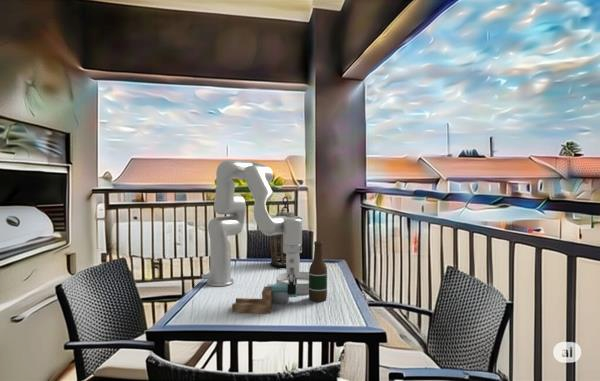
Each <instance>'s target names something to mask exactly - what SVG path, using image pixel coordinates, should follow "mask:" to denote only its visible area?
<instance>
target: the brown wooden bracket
mask: <svg viewBox="0 0 600 381" xmlns="http://www.w3.org/2000/svg"><path fill="white" fill-rule="evenodd" d="M231 306H232V308H231V310H232V311H231V313H232V312H241V313H240V314H271V311H272V308H273V304H272V287H267V285H266V286H264V287H263V289H262V291H261V298H249V297H248V298H247V297H245V298H243V297H242V298H241V297H240V298H239V297H238V298H235V302H233V303H232V304H231Z"/></svg>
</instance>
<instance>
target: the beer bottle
mask: <svg viewBox="0 0 600 381" xmlns="http://www.w3.org/2000/svg"><path fill="white" fill-rule="evenodd" d="M323 244H324V242H323V241H321V240H315V241H314V243H313V245H314V250H313V251H314V252H313V261H312V262H311V264H310V266H309V270H308V272H309V294H308V300H310V301H311V302H315V303H316V302H318V303H319V302H320V303H321V302H326V301H327V298H328V269H327V268H328V267H327V265H326V263H325V261H324V258H323V257H324V256H323Z"/></svg>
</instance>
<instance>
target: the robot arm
mask: <svg viewBox="0 0 600 381" xmlns="http://www.w3.org/2000/svg"><path fill="white" fill-rule="evenodd" d="M215 176H216V185H215V186H216V187H215V194H214V195H215V196H214V204H213V210H214V212H215V214H216V215H217V214H218V215H221V216H216V217H214V218H212V219H211V220H209V222H208V225H207V231H208V236H209V246H210V249H209V250H210V251H209V253H210V254H209V255H210V256H209V257H210V260H209V261H210V263H209V267H210V268H209V271H210V272H209V273H208V274H205V273H202V274H201V277H200V278H201V279H202V280H207V281H206V284H207V285H208V286H212V287H226V286H231V285H233V284H234V283H235V280H234V278H232V275H231V272H232V270H231V269H232V268H231V267H232V266H231V265H232V264H231V262H232V261H231V260H232V255H231V254H232V250H231V246H232V245H231V243H230V240H229V238H228V237H230V236H237V235H239V234H241V232H242V231H243V228H244V225H245V224H244V223H245V217H246V216H245V215H246V208H247V206H246V199H245V198H244V197H243V196H242V195H241V194H237V193H235V191H236V190H235V188H236V186H235V182H234V180H233V179H235V180H244V181H245V183H246V185H247V187H248V189H249V191H250V193H251V195H252V197H253V200H254V204H253V217H254V220H255V221H254V222H256V225H257V227H258V229H259V230H260V232H261V233H262V235H265V236H267V237H270V236H272V235H277V236H279V234H283V253H286V254H285V257H286V258H285V260H286V269H285V271H286V272H285V273H287V278H288V295H295V294H296V285H297V278H299V272H300V254H302V252H303V246H302V245H303V221H302V219H299V218H289V217H286V216H276V215H275V216H276V217H272V216H270V214H269V211H268V210H267V206H266V205H267V204H266V203H267V202H268V201H269V200H271V198H272V197H273V196H274V190H272V187H271V186H270V183H272V182H273V180H274V172H273V170H272V169H271V167H269V166H268V165H264V164H262V163H257V162H254V161H249V160H239V159H238V160H237V159H228V160H223V161H222V162H220V163H219V165H218V166H217V168H216V172H215ZM222 215H226V216H222ZM227 215H228V216H227ZM289 275H290V276H289Z"/></svg>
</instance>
